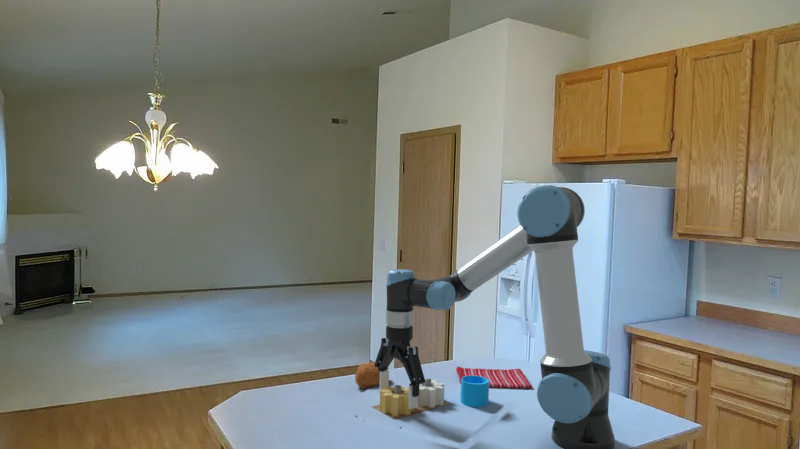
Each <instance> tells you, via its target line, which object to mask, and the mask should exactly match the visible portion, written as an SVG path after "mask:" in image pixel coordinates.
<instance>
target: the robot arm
mask: <svg viewBox="0 0 800 449" xmlns="http://www.w3.org/2000/svg"><path fill="white" fill-rule="evenodd" d="M585 213H586V212H585V203H584V202H583V199H582V197H581V196H580V195H579V194H578V193H577V192H576V191H574V190H573V189H571V188H568V187H565V186H564V187H563V186H556V185H552V184H549V185H546V184H545V185H541V186H536V187H534V188H531V189H529V190H528V191H527V192H526V193H525V194H524V195H523V196H522V198H521V199H520V201H519V204H518V206H517V213H516V214H517V221H518V223H519V225H518V226H516V227H515V228H513V229H512V230H511V231H510V232H508V233H507V234H505V235H504V236H502V237H501V238H500V239H498V240H497V241H495V242H494V243H493V244H491V245H490V246H489V247H487V248H486V249H484V250H483V251H481V252H480V253H479V254H477V255H476V256H475V257H473V258H471V259H470V260H469V261H467V262H466V263H464V264H463V265H461V267H459V268H458V269H456V270H455V271H454V272H452V273H451V274H450V275H448V276H444V277H439V278H435V279H434V278H433V279H424V278H423V279H420V278H416V277H415V272H414V271H413V270H411V269H402V268H401V269H398V268H396V269H391V270H389V271H388V272H387V275H386V277H387V278H386V279H387V280H386V286H385V287H386V309H385V314H386V315H385V324H386V326H385V337H382V338H381V339H380V340H381V341H380V347H379V350H378V353H377V355H376V359H375V361H374V363H375V364H374V365H375V367H377V368H378V370H379V381H380V385H379V389H378V390H379V392H378V393H379V395H380V391H381V389H382V390H385V387H389V386H390V385H389V383H390V382H389V381H390V371H389V366H390V364H391V363H393V360H394V359H396V360H399V361H400V363H401V364H402V365H403V367H404V369H405V373H406V375H407V377H408V379H409V382H410V383H409V384H408V388H409V406H408V408H409V409H412V408H416V407H418V396H419V385H420V384H422V383H425V379H426V378H425V374H424V372H423V367H422V365H421V360H420V358H419V347H418V346H411V341H412V340H413V337H414V336H413V335H414V334H413V332H414V331H413V330H414V327H413V323H414V307H418V308H425V309H431V310H435V311H439V310H440V311H448V310H450V309H451V308H452V306H454V305H455V303H457V302H461V301H463V300H464V301H465V300H466V299H467V298H468V297H470V296H471V294H472V293H473V292H474V291H475V290H477V289H478V288H479V287H482V285H484V284H486V283H487V282H489V281H490V280H491V279H493V278H494V277H497V275H499V274H501V273H502V272H503V271H506V270H507V269H508V268H509V267H510V266H513V265H514V264H515V263H517V262H519V261H520V260H522V259H523V258H524V257H526V256H527V255H529V254H531V253H532V252H534V257H535V265H536V276H537V284H538V293H539V302H540V304H539V305H540V311H541V319H542V321H541V322H542V330H543V340H544V349H545V354H544V355H543V356H542V358H540V360H539V362H540V363H539V364H540V371H541V372H540V374H541V379H540V381H539V382H538V387H537V390H536V398H537V402H538V404H539V406H540V408H541V409H542V411H543V412H544V413H545V414H546V415H547V416H548V417H549V418H551V419H552V420H554V422H553V425H552V427H551V428H552V429H551V440H552V441H553V442H554V443H555V444H557V445H558V446H560V447H561V448H563V449H615V440H616V439H615V434H614V431H613V428H612V422H611V420H610V417H609V416H610V415H609V403H610V402H609V401H610V377H611V370H612V367H611V359H610V357H609V356H608V355H607V354H604V353H601V352H598V351H592V350H586V349H584V348H585V346H584V339H583V331H582V330H583V329H582V321H581V313H580V306H579V305H580V304H579V296H578V286H577V278H576V268H575V260H574V252H573V249H574V247H575V245H576V244H577V243H579V242H578V241H579V234H578V228H579V226H580V225H581V224H582V222H583V221H584V217H585ZM386 369H387V370H386Z"/></svg>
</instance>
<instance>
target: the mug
mask: <svg viewBox="0 0 800 449" xmlns="http://www.w3.org/2000/svg"><path fill="white" fill-rule="evenodd" d="M489 392H490V388H489V380H488V379H487V378H485V377H481V376H464V377H462V378H461V384H460V403H461V404H463V406H466V407H471V408H484V407H486V406H488V405H489V395H490V394H489Z"/></svg>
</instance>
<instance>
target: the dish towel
mask: <svg viewBox="0 0 800 449" xmlns="http://www.w3.org/2000/svg"><path fill="white" fill-rule="evenodd" d="M455 370H456V373H457V374H458V379H460V380H459V383H460V385H461V378H462V377H464V376H481V377H485V378H487V379H488V380H489V389H506V388H507V389H508V390H509V389H510V390H511V389H512V390H513V389H514V390H529V389H530V390H531V389H532V388H533V387H532V385H531V384H530V382H529V380H528V378H527V376H525V374H524V372H523V371H522V369H521V368H510V369H499V368H498V369H496V368H495V369H493V368H471V367H462V366H456V368H455ZM507 389H506V390H507Z"/></svg>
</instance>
